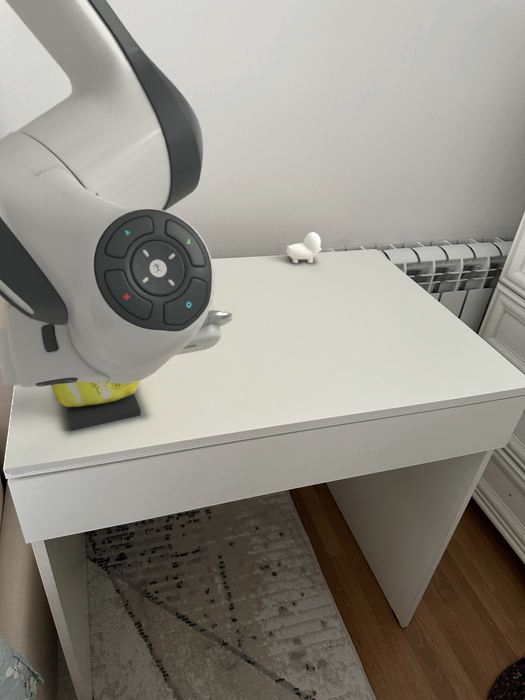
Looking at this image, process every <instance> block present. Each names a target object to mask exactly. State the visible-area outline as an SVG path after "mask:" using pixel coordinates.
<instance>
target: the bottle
mask: <svg viewBox="0 0 525 700" xmlns="http://www.w3.org/2000/svg"><path fill="white" fill-rule="evenodd" d="M140 382H141V380H140V381H137V382H133V383H127V384H116V383H110V382H106V383H92V382H74V383H64V384H55V385H50V386H51V389H52V392H53V394H54V397H55V398H56V400H57V402H58V403H59V404H60V405H62V406H63V407H65V408H66V407H80V406H86V405H96V404H102V403H108V402H113V401H117V400H119V399H122V398H124V397H127V396H129V395H132V394H133V393H134V394H135V393H136V392H137V389H138V387H139V385H140Z"/></svg>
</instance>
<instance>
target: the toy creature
mask: <svg viewBox="0 0 525 700" xmlns="http://www.w3.org/2000/svg"><path fill="white" fill-rule="evenodd" d="M321 245H322V240H321V237H320V235H319V234H318V233H316V232H314V231H311V232H309V233H307V235H306V236H305V237H304V239H303V242H298V243H293V244H286V255H288V256H289V257H290V260H292V263H294V264H298V263H299V260H307V263H310V264H311V263H313V261H314V257H316V256H317V254H318V253H321V251H322V250H323V249H322V247H321Z"/></svg>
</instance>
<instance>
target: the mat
mask: <svg viewBox="0 0 525 700" xmlns="http://www.w3.org/2000/svg"><path fill="white" fill-rule="evenodd" d="M65 410H66V414H67V417H68V423H69V427H70V431H72V432H73V431H76V430H81V429H85V428H86V429H87V428H89V427H94V426H99V425H103V424H108V423H113V422H116V421H120V420H126V419H130V418H134V417H139V416H141V415H142V412H141V411H142V410H141V408H140V405H139V402H138V400H137V398H136V395H135V393H133V394H132V395H129V396H127V397H124V398H122V399H119V400H117V401H113V402H108V403H102V404H96V405H86V406H80V407H66V406H65Z"/></svg>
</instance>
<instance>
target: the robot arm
mask: <svg viewBox="0 0 525 700" xmlns="http://www.w3.org/2000/svg"><path fill="white" fill-rule="evenodd" d="M4 1H5V3H7V4H8V6H9V7H10V8H11V9H12V10H13V12H15V15H17V17H18V18H19V19H20V20H21V21H22V23H23V24H24V25H25V26H26V28H28V30H29V31H30V32H31V34H32V35H33V36H34V37H35V38H36V40H37V41H38V42H39V43H40V44H41V45H42V47H43V48H44V49H45V51H46V52H47V53H48V54H49V55H50V56H51V58H52V59H53V60H54V61H55V63H56V64H57V65H58V66H59V67H60V68H61V70H62V71H63V73H64V74H65V75H66V76H67V78H68V79H69V82H70V85H71V92H70V94H69V95H68V96H67V97H66V98H64V99H63V100H61V101H59V102H58V103H56V104H55V105H54V106H52V107H50V108H49V109H47V110H46V111H44V112H43V113H42V114H40V115H38V116H37V117H35V118H34V119H32V120H30V121H29V122H27V123H25V124H24V125H23V126H22V127H20V128H19V129H17V130H16V131H11V132H9V133H8V134H6V135H5V136H3V137H2V138H0V297H2V298H3V299H4V300H5V301H6V302H7V303H9V304H10V305H11V306H10V307H9V308H7V309H6V311H5V323H6V324H5V325H4V326H3V327H2V328H0V372H1V377H2V382H3V384H4V386H6V387H14V386H20V387H23V388H28V389H29V388H35V387H39V388H41V387H46V386H51V385H55V384H64V383H74V382H92V383H106V382H110V383H116V384H127V383H133V382H137V381H140V382H141V381H143V380H145V379H147V378H148V377H149V378H150V376H152V375H153V374H154V373H156V372H157V371H158V370H160V369H161V368H162V367H163V366H164V365H166V363H168V362H169V361H170V360H171V359H172V358H173V357H175V356H179V355H185V354H190V353H196V352H201V351H204V350H208V349H211V348H214V347H215V346H216V345H217V344H218V343H219V342H220V340H221V338H222V330H221V327H222V326H226V325H227V324H229V323H230V322H231V321H233V314H232V312H231V311H230V310H226V311H222V310H221V309H216V307H215V304H213V300H214V296H215V287H216V286H215V284H216V283H215V281H216V279H215V270H214V269H215V268H214V263H213V259H212V256H211V253H210V250H209V249H208V246H207V244H206V243H205V241H204V239H203V237H202V236H201V235H200V233H199V232H198V230H196V229H195V228H194V227H193V226H192V225H191V224H190V223H189V222H188V221H186V220H184V219H183V218H182V217H180V216H179V215H177V214H175V213H172V212H170V211H168V209H170V208H171V207H173V206H175V205H176V204H177V203H179V202H181V201H182V200H184V199H185V198H187V197H188V196H189V195H190V194H192V193H193V192H194V191H195V190H196V189H197V187H198V186H199V182H200V179H201V174H202V170H203V169H202V168H203V158H204V142H203V141H204V140H203V132H202V128H201V125H200V121H199V119H198V116H197V115H196V113H195V110H194V108H193V107H192V106H191V104H190V103H189V101H188V100H187V98H186V97H185V96H184V94H183V93H182V92H181V90H180V89H178V87H177V86H176V85H175V83H173V81H171V80H170V79H169V77H168V76H167V75H166V74H165V73H164V71H162V70H161V69H160V68H159V67H158V66H157V65H156V64H155V62H154V61H153V60H152V59H151V58H150V57H149V56H148V55H147V54H146V53H145V51H144V50H143V49H142V47H141V46H140V45H139V44H138V43H137V41H136V40H135V39H134V37H133V36H132V35H131V33H130V32H129V30H128V29H127V28H126V26H125V25H124V23H123V22H122V20H121V19H120V18H119V16H118V15H117V14H116V12H115V11H114V9H113V8H112V6H111V5H110V4H109V2H108V1H107V0H4Z"/></svg>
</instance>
